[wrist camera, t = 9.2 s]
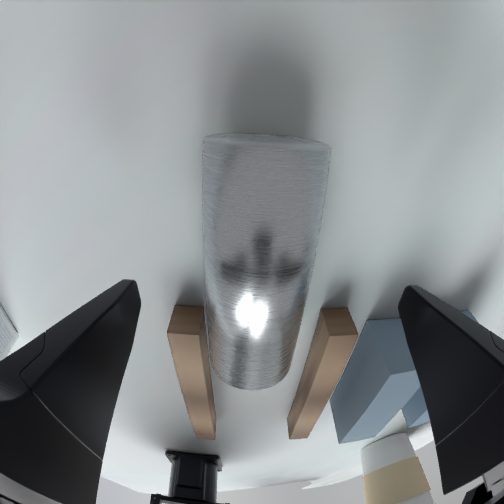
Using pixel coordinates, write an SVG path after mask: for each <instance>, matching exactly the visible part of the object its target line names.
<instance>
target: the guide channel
mask: <svg viewBox="0 0 504 504" xmlns="http://www.w3.org/2000/svg"><path fill="white" fill-rule="evenodd" d="M167 336H168V340H169V345H170V349H171V353H172V357H173V361H174V365H175V369H176V372H177V376H178V380H179V383H180V387H181V390H182V394H183V397H184V401H185V404H186V407H187V410H188V414H189V417H190V420H191V423H192V426H193V429H194V432H195V435H196V438H201V439H215V431H216V414H215V407H214V399H213V392H212V384H211V375H210V366H209V357H208V348H207V337H206V327H205V315H204V307H199V306H181V305H175V307H174V310H173V313H172V317H171V320H170V324H169V327H168V330H167ZM357 337H358V332H357V330H356V327H355V325H354V322H353V320H352V317H351V315H350V313H349V310H348V308H327V309H321V311H320V315H319V319H318V322H317V326H316V330H315V333H314V337H313V341H312V344H311V348H310V351H309V354H308V358H307V361H306V364H305V368H304V371H303V374H302V377H301V381H300V384H299V387H298V390H297V393H296V396H295V399H294V402H293V405H292V408H291V410H290V413H289V416H288V419H287V422H288V432H289V439H302V438H307V437H308V436H309V434H310V432H311V431H312V429H313V427H314V425H315V424H316V422H317V420H318V418H319V416H320V415H321V413H322V411H323V409H324V407H325V405H326V403H327V401H328V399H329V398H330V396H331V394H332V392H333V390H334V388H335V386H336V384H337V381H338V379H339V377H340V375H341V373H342V371H343V369H344V367H345V364H346V362H347V360H348V358H349V356H350V353H351V351H352V349H353V346H354V344H355V342H356V339H357Z"/></svg>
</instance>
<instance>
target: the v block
mask: <svg viewBox="0 0 504 504" xmlns="http://www.w3.org/2000/svg"><path fill="white" fill-rule="evenodd" d="M460 312H462V313H463V314H465V315H467V316H468V317H470V318H471V319H473V320H474V321H476V322H477V320H476V319H475V318H474V316H473V315H472V314H471V312H470V311H469V310H466V311H460ZM477 323H478V322H477ZM330 404H331V409H332V413H333V418H334V423H335V427H336V432H337V437H338V442H339V444H341V443H347V442H353V441H358V440H363V439H368V438H373V437H375V436H376V435H377V434H378V433H379V432H380V431H381V430H382V429H383V428H384V427H385V426H386V425H387V423H388V422H389V421H390V420H391V419H392V418H393V417H394V416H395V415H396V414H397V412H398V411H399V410H400V409H402V412H403V415H404V418H405V420H406V423H407V426H408V428H411V427H415V426H418V425H421V424H424V423H427V422H430V419H429V415H428V411H427V407H426V403H425V400H424V396H423V393H422V389H421V386H420V382H419V379H418V376H417V373H416V369H415V366H414V363H413V360H412V357H411V354H410V351H409V348H408V345H407V341H406V337H405V333H404V329H403V325H402V322H401V318H394V319H380V320H367V321H366V324H365V326H364V329H363V331H362V333H361V336H360V338H359V341H358V343H357V345H356V348H355V350H354V352H353V354H352V357H351V359H350V361H349V363H348V365H347V367H346V370H345V372H344V374H343V376H342V378H341V380H340V382H339V384H338V386H337V388H336V390H335V392H334V394H333V396H332V398H331V400H330Z"/></svg>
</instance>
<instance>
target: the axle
mask: <svg viewBox="0 0 504 504" xmlns="http://www.w3.org/2000/svg"><path fill="white" fill-rule="evenodd" d="M330 156H331V147H330V146H329V145H326V144H323V143H320V142H317V141H312V140H308V139H303V138H297V137H290V136H281V135H267V134H249V133H230V134H217V135H210V136H206V137H204V138H203V149H202V197H203V242H204V268H205V289H206V306H207V321H208V335H209V348H210V360H211V365H212V368H213V370H214V372H215V373H216V374H217V376H218V377H219V378H220V379H221V380H223V381H224V382H226V383H227V384H229V385H231V386H233V387H236V388H239V389H245V390H260V389H265V388H268V387H271V386H273V385H275V384H277V383H278V382H280V381H281V380H282V379H283V378H284V377H285V376H286V374H287V373H288V371H289V369H290V366H291V362H292V358H293V354H294V350H295V346H296V342H297V338H298V333H299V329H300V325H301V320H302V316H303V312H304V307H305V302H306V298H307V293H308V288H309V283H310V279H311V273H312V268H313V263H314V258H315V253H316V247H317V242H318V236H319V230H320V224H321V218H322V212H323V206H324V199H325V193H326V186H327V179H328V171H329V164H330Z"/></svg>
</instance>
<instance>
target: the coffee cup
mask: <svg viewBox="0 0 504 504" xmlns="http://www.w3.org/2000/svg"><path fill="white" fill-rule="evenodd" d="M360 453H361V460H362V468H363V476H364V477H363V486H364V496H365V504H434V502H433V499H432V497H431V494H430V491H429V490H430V487H429V484H428V482H427V479H426V477H425V474H424V471H423V469H422V466H421V464H420V462H419V459H418V457H416V455H415V453H414V450H413V447H412V445H411V442H410V440H409V438H408V435H407V433H399V434H394V435H391V436H388V437H385V438H382V439H380V440H378V441H375V442H373V443H371V444H369V445H367V446H366V447H364V448H363V449H362V450H361V451H360Z"/></svg>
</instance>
